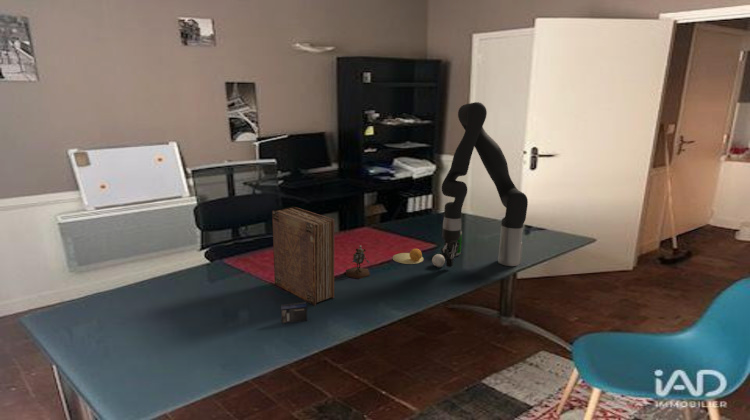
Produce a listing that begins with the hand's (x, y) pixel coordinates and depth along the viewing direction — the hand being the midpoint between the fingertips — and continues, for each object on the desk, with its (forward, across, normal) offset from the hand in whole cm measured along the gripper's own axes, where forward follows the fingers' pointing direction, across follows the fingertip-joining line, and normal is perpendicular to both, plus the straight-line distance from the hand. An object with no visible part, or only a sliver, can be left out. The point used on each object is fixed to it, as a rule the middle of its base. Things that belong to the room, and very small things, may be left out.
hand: (449, 266), depth 208 cm
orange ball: (-1, 0, +17) cm, 17 cm away
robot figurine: (+2, -29, +27) cm, 40 cm away
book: (+2, -56, +32) cm, 64 cm away
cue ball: (-1, 0, +6) cm, 6 cm away
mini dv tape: (+2, -74, +17) cm, 76 cm away
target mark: (+2, 0, +21) cm, 21 cm away
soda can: (+2, +18, +8) cm, 20 cm away
